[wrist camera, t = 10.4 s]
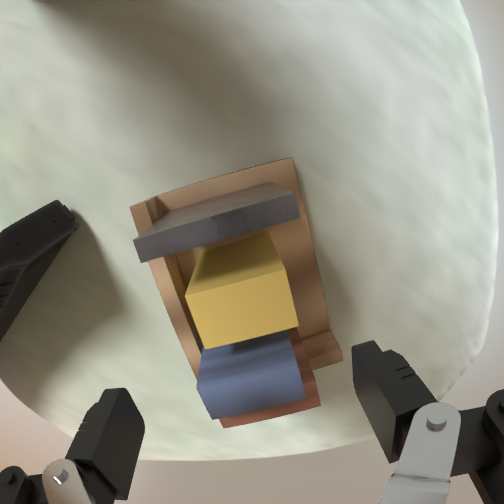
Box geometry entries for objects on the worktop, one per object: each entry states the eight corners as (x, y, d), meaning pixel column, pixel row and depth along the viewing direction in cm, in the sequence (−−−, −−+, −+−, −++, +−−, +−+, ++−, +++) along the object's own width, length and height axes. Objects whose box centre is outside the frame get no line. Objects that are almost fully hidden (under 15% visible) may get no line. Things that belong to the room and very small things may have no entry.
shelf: (148, 198, 26) (90, 224, 15) (288, 157, 25) (327, 154, 14) (209, 367, 30) (201, 456, 19) (328, 336, 30) (369, 415, 19)
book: (201, 251, 26) (184, 295, 17) (268, 232, 25) (285, 269, 17) (214, 290, 27) (205, 349, 18) (278, 273, 26) (298, 325, 18)
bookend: (171, 210, 25) (133, 240, 15) (271, 181, 24) (294, 193, 15) (176, 224, 25) (141, 263, 15) (275, 196, 25) (300, 217, 15)
